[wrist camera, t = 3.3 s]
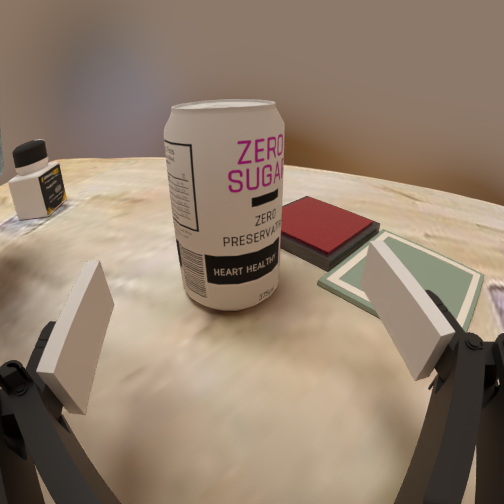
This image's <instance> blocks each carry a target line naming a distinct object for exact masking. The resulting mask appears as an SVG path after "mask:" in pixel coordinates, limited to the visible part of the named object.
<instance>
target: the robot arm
mask: <svg viewBox="0 0 504 504" xmlns="http://www.w3.org/2000/svg"><path fill="white" fill-rule="evenodd" d="M2 171H3V156H2V144H1V130H0V176H1V174H2ZM360 286H361V287H362V289H363V291H364V292H365V294H366V296H367V297H368V299H369V301H370V302H371V304H372V306H373V307H374V309H375V311H376V312H377V314H378V316H379V318H380V319H381V321H382V323H383V324H384V326H385V328H386V330H387V331H388V333H389V335H390V337H391V338H392V340H393V342H394V344H395V346H396V347H397V349H398V351H399V353H400V355H401V356H402V358H403V360H404V362H405V364H406V366H407V367H408V369H409V371H410V373H411V375H412V377H413V379H414V381H417V380H420V379H423V378H426V377H429V376H430V374H431V373H432V371H433V369H434V368H435V369H436V371H437V373H438V374H437V375H436V377H435V378H434V380H433V381H432V383H431V384H430V386H429V388H428V389H429V390H430V389H431V388H432V386H433V389H432V394H431V398H430V402H429V406H428V409H427V413H426V417H425V420H424V424H423V427H422V430H421V433H420V437H419V440H418V443H417V446H416V449H415V452H414V455H413V457H412V460H411V463H410V466H409V468H408V471H407V474H406V476H405V479H404V481H403V484H402V486H401V488H400V491H399V493H398V495H397V498H396V500H395V502H394V504H461V502H462V498H463V495H464V492H465V488H466V485H467V481H468V477H469V473H470V469H471V465H472V460H473V456H474V451H475V446H476V492H475V504H504V333H501V334H500V335H499V336H498V337H497V339H496V340H495V342H483V340H482V339H481V338H480V337H479V336H478V335H476V334H474V333H470V332H467V333H466V332H465V331H464V330H463V328H462V327H461V326H460V324H459V323H458V322H457V320H456V319H455V318H454V316H453V315H452V314H451V312H450V311H448V308H447V307H446V306H445V305H444V303H443V302H442V301H441V299H440V298H439V297H438V296H437V295H436V294H434V293H433V292H432V291H430V290H424V289H423V288H422V287H421V286H420V284H419V283H418V282H417V281H416V279H415V278H414V277H413V276H412V274H411V273H410V272H409V271H408V270H407V268H406V267H405V266H404V265H403V264H402V262H401V261H400V260H399V259H398V258H397V256H396V255H395V254H394V253H393V252H392V251H391V249H390V248H389V247H388V246H387V245H386V244H385V243H384V241H383V240H379V241H370V242H369V247H368V252H367V256H366V261H365V265H364V270H363V274H362V278H361V283H360ZM113 307H114V302H113V299H112V296H111V293H110V290H109V287H108V284H107V281H106V278H105V275H104V272H103V269H102V266H101V263H100V260H99V261H86V263H85V264H84V266H83V268H82V270H81V272H80V274H79V276H78V278H77V280H76V282H75V284H74V286H73V288H72V290H71V292H70V294H69V296H68V298H67V300H66V302H65V304H64V306H63V308H62V310H61V313H60V315H59V317H58V319H57V321H56V322H53V321H50V322H49V323H48V324H47V325H46V326H45V327H44V328H43V330H42V332H41V334H40V336H39V338H38V341H37V343H36V345H35V348H34V350H33V352H32V354H31V357H30V359H29V362H28V364H27V367H26V369H25V368H24V367H23V365H22V364H21V363H20V362H19V361H17V360H11V361H8V362H6V363H4V364H3V365H2V366H1V367H0V387H1V388H2V389H0V504H45V501H44V498H43V495H42V491H41V488H40V484H39V481H38V477H37V473H36V469H35V466H36V468H37V470H38V472H39V474H40V476H41V478H42V480H43V482H44V484H45V485H46V487H47V489H48V491H49V493H50V495H51V496H52V498H53V500H54V502H55V503H56V504H121V503H120V502H119V500H118V499H117V498H116V496H115V495H114V494H113V492H112V491H111V490H110V488H109V487H108V486H107V484H106V483H105V482H104V480H103V479H102V477H101V476H100V475H99V473H98V472H97V470H96V469H95V467H94V466H93V464H92V463H91V461H90V460H89V458H88V457H87V455H86V453H85V452H84V450H83V449H82V447H81V445H80V444H79V442H78V440H77V439H76V437H75V435H74V434H73V432H72V430H71V428H70V427H69V425H68V423H67V421H66V419H65V417H64V416H63V415H62V414H61V412H62V408H63V406H64V407H65V409H66V410H67V411H68V412H69V413H72V414H80V415H86V410H87V406H88V401H89V396H90V392H91V387H92V383H93V379H94V375H95V371H96V367H97V363H98V359H99V355H100V352H101V348H102V344H103V341H104V337H105V334H106V330H107V327H108V324H109V320H110V317H111V314H112V311H113ZM498 379H499V383H500V385H498V381H497V380H498ZM34 464H35V465H34Z"/></svg>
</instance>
